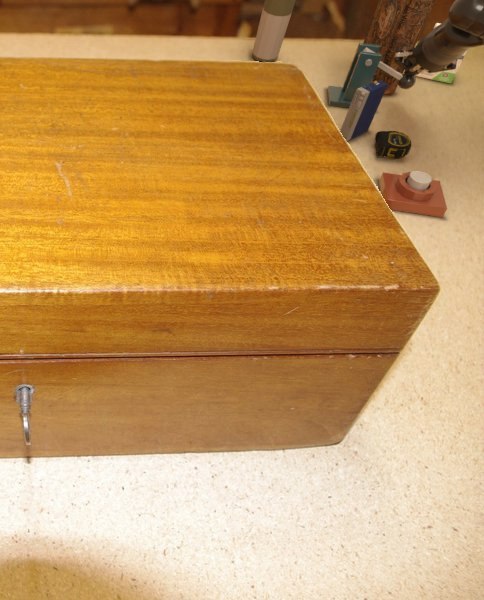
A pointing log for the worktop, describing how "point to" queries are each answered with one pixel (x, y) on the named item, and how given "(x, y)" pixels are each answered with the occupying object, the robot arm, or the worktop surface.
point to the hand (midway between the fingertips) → (409, 71)
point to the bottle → (272, 29)
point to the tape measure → (392, 144)
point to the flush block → (412, 195)
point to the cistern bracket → (356, 75)
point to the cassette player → (363, 109)
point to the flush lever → (396, 74)
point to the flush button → (419, 180)
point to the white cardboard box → (443, 75)
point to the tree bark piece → (396, 33)
